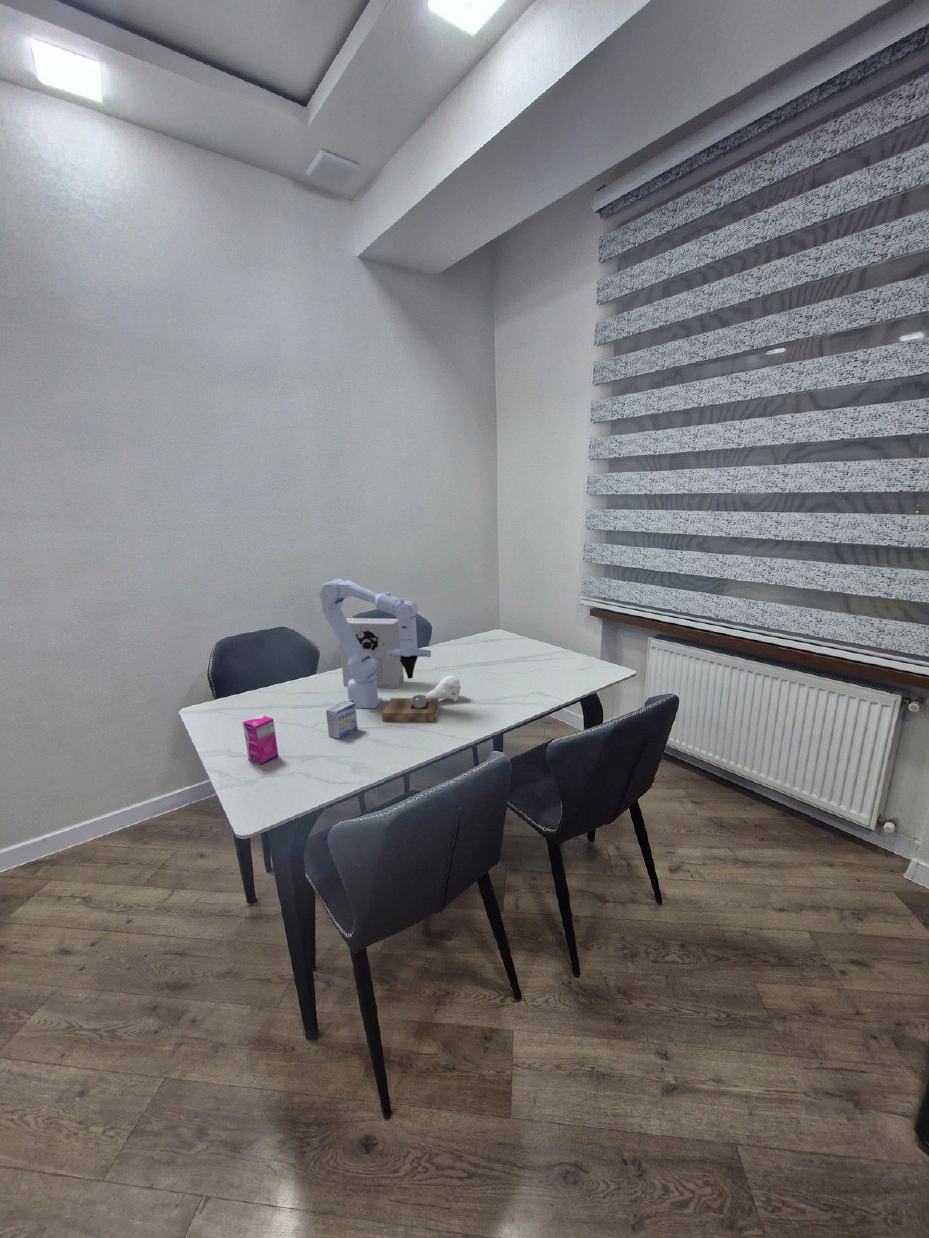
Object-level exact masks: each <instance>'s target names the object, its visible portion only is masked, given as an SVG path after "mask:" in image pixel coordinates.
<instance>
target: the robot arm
mask: <svg viewBox="0 0 929 1238" xmlns="http://www.w3.org/2000/svg"><path fill="white" fill-rule="evenodd" d="M318 596H319V597H320V601H321V610H322V613H323V615H324V617H325V618H326V620H327V622H328V624H329V625H330V627H331V629H332V630H333V632H334V634H335V636H336V637H337V639H338V641H339V644H340V643H341V645H342V646H343V648H344V650H345V651H346V653H347V655H348V657H349V661H348V666H349V668H350V671H351V676H352V678H353V679H350V681H349V683H348V686H347V696H348V701H349V702H352V703H355V705H356V709H359V708H360V709H376V708H377V707H378V705H379V703H380V702H381V701H382V697H379V696H378V688H377V682H376V673H375V672H376V671H377V670H378V662H377V661H376V659H374V658H373V657H372V656H371V655H370V653H369V652H367V651H365V650H364V649H363V648H362V646H361V645H360V643H359V641H358V639H357V638H356V636H355V634H354V632H353V631H352V629H351V627H350V625H349V624H348V622H347V620H346V617H345V615H344V613H343V611H342V610H341V608H342V605H343V602H344V600H345V599H346V598H349V597H354V598H357V599H360V600H362V601H367V602H369V603H372V604H374V605H375V608H376V609H378V610H379V611H382V612H384V613H387V614H390V615H391V616H395V617H396V618H395V619H398V624H399V625H398V626H399V642H400V649H397V650H388V651H387V657H401V659H400V662H401V663H402V665H403V669H404V670H405V673H406V677H407V679H412V678H413V677H414V670H415V666H416V664H417V660H418V658H420V657H421V658H423V657H424V658H426V657H427V658H431V657H432V650H431V649H421V648H418V636H417V635H418V634H417V619H416V614H417V613H418V609H419V608H418V605H417V604H416V602H414V601H413V600H412V599H404V598H402V597H396V596H395V595H392V594H391V592H389V591H386V592H380V593H377V592H374V591H373V590H370V589H368V588H366V587H364V586H362V585H359V584H357V583H354V582H353V581H352V580H350V579H345V578H342V577H339V578H338V577H337V578H336V579H333V580H330V581H326V582H324V583H323V584H322V585H321V587H320V588H319V592H318Z"/></svg>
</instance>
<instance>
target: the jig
mask: <svg viewBox="0 0 929 1238" xmlns="http://www.w3.org/2000/svg"><path fill="white" fill-rule="evenodd" d="M426 707H427V709H413V697H411V698H410V697H408V698H407V697H400V698H399V697H391V698H390V699H389V700H388V703H387V704H386V706H385V708H384V709H383V710H382V712H381V719H382V723H386V722H388V723H392V722H393V723H397V722H398V723H433V722H434V720H435V717H436V715H437V712H438V710H439V699H438V698H427V697H426Z"/></svg>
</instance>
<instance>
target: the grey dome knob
mask: <svg viewBox="0 0 929 1238" xmlns="http://www.w3.org/2000/svg"><path fill="white" fill-rule="evenodd" d="M412 698H413V709H427V707H426V698H427V695H423V694H417V695H414V696H413V697H412Z"/></svg>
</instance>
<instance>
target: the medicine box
mask: <svg viewBox="0 0 929 1238" xmlns="http://www.w3.org/2000/svg"><path fill="white" fill-rule="evenodd" d="M325 713H326V714H325V715H326V721H327V733H328V737H331V738H335V739H338V740H341V739H343V738H344V737H346V736H347V735H349V734H352V733H353V732H355V731H357V730H358V719H357V718H358V717H357V708H356V705H355V703H352V702H349V700H348V701H347V700H344V701H343V702H340V703H338V704H336V705H334V706H331V707H329V708H328V709H326V711H325Z"/></svg>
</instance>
